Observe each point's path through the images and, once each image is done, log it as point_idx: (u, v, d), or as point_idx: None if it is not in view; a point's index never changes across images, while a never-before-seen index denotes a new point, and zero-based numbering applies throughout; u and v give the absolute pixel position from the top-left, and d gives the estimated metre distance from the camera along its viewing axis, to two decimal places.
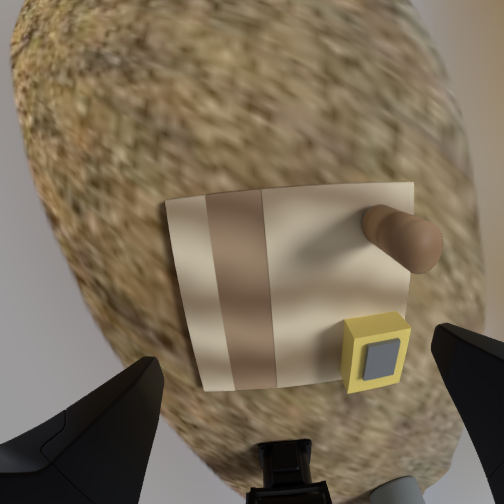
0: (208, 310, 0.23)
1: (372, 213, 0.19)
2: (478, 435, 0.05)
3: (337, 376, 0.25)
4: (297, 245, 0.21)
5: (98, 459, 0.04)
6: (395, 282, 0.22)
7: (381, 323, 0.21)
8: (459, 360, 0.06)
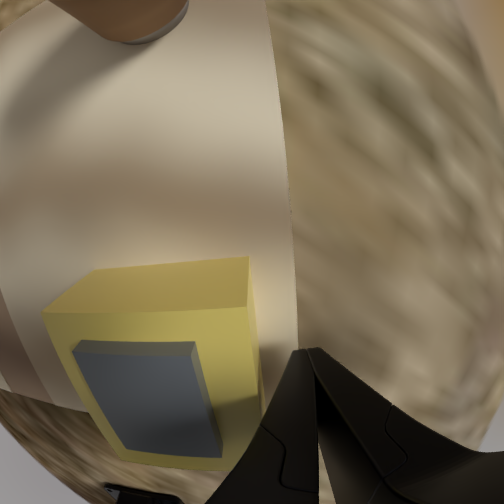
0: None
1: None
2: None
3: None
4: (5, 104, 0.06)
5: None
6: (232, 157, 0.07)
7: (157, 284, 0.07)
8: None
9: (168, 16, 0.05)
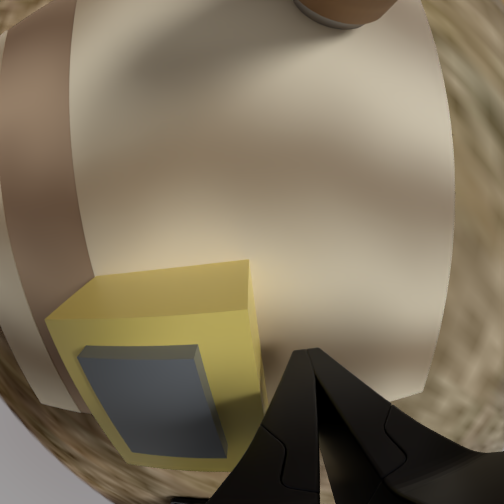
0: None
1: None
2: None
3: None
4: (131, 51, 0.06)
5: None
6: (421, 154, 0.07)
7: (160, 289, 0.07)
8: None
9: (382, 15, 0.05)
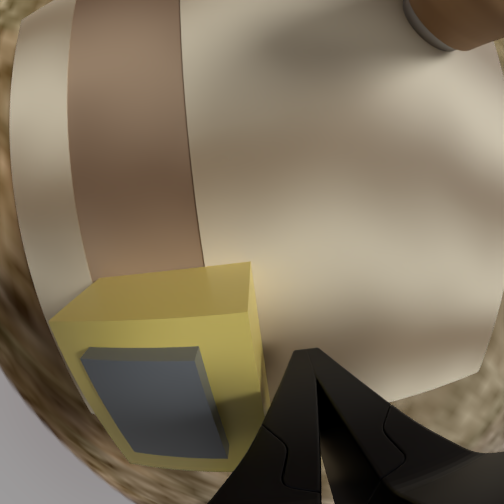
0: (55, 220, 0.08)
1: None
2: None
3: None
4: (261, 29, 0.06)
5: None
6: (495, 163, 0.07)
7: (162, 292, 0.07)
8: None
9: None
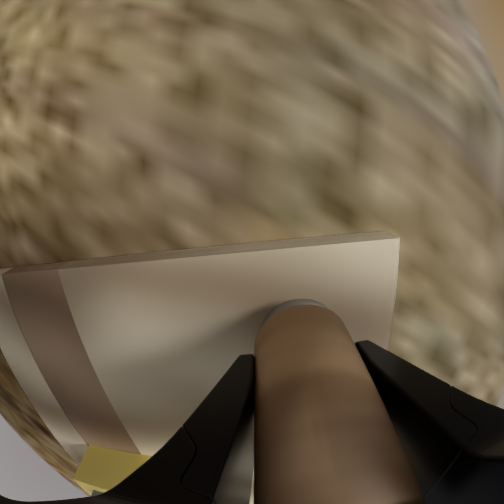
0: (58, 418, 0.12)
1: (267, 339, 0.08)
2: None
3: None
4: (137, 366, 0.10)
5: (234, 476, 0.04)
6: None
7: (120, 472, 0.11)
8: None
9: None
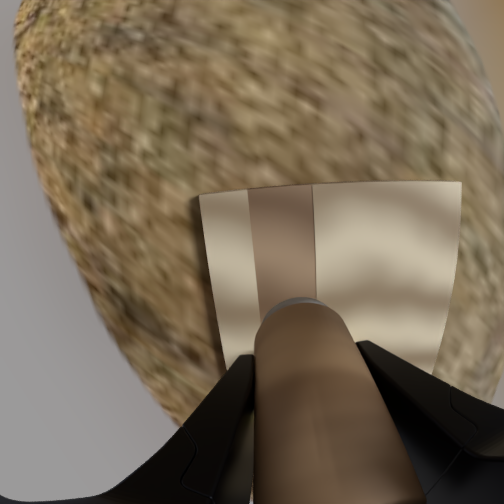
0: (246, 321, 0.20)
1: (267, 337, 0.08)
2: None
3: None
4: (349, 247, 0.18)
5: (234, 476, 0.04)
6: (440, 286, 0.19)
7: None
8: None
9: None
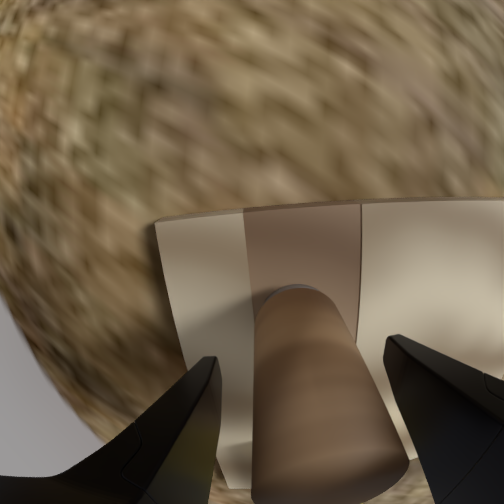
0: (242, 412, 0.12)
1: (266, 317, 0.09)
2: (427, 458, 0.05)
3: (409, 457, 0.14)
4: (409, 306, 0.10)
5: (180, 473, 0.04)
6: None
7: None
8: (406, 376, 0.06)
9: None
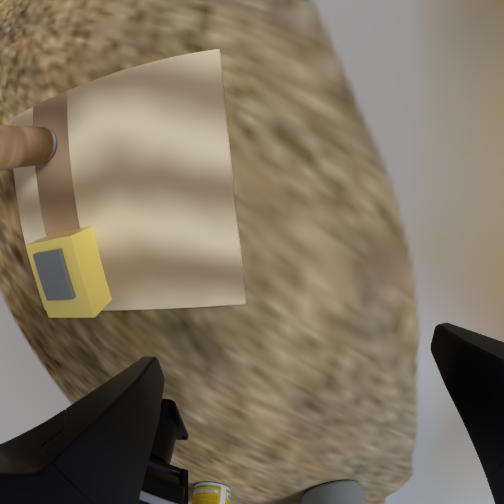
0: (33, 212, 0.19)
1: None
2: (478, 435, 0.05)
3: (162, 302, 0.21)
4: (92, 133, 0.17)
5: (98, 459, 0.04)
6: (208, 167, 0.18)
7: (60, 235, 0.18)
8: (459, 360, 0.06)
9: (47, 157, 0.17)
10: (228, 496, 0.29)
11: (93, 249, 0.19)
